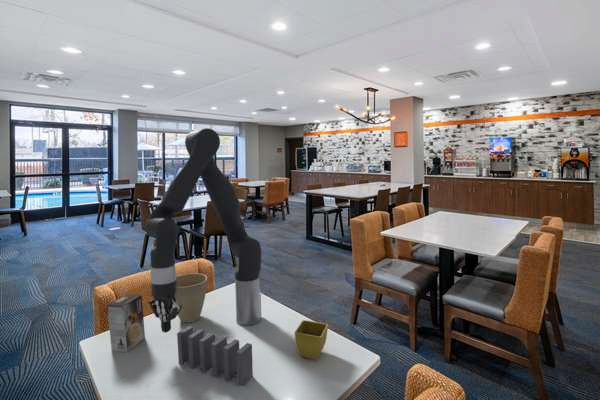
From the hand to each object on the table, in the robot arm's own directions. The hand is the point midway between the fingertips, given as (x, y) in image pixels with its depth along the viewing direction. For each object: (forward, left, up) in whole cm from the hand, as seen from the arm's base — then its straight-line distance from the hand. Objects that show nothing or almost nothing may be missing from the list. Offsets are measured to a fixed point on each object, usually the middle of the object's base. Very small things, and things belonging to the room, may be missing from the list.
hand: (166, 331), depth 108 cm
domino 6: (0, +31, -8) cm, 32 cm away
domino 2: (0, +13, -8) cm, 15 cm away
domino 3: (0, +17, -8) cm, 19 cm away
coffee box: (+2, -17, -8) cm, 19 cm away
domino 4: (0, +22, -8) cm, 23 cm away
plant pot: (-21, -12, -8) cm, 25 cm away
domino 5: (0, +26, -8) cm, 27 cm away
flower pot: (-20, +42, -8) cm, 48 cm away
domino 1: (0, +8, -8) cm, 11 cm away
